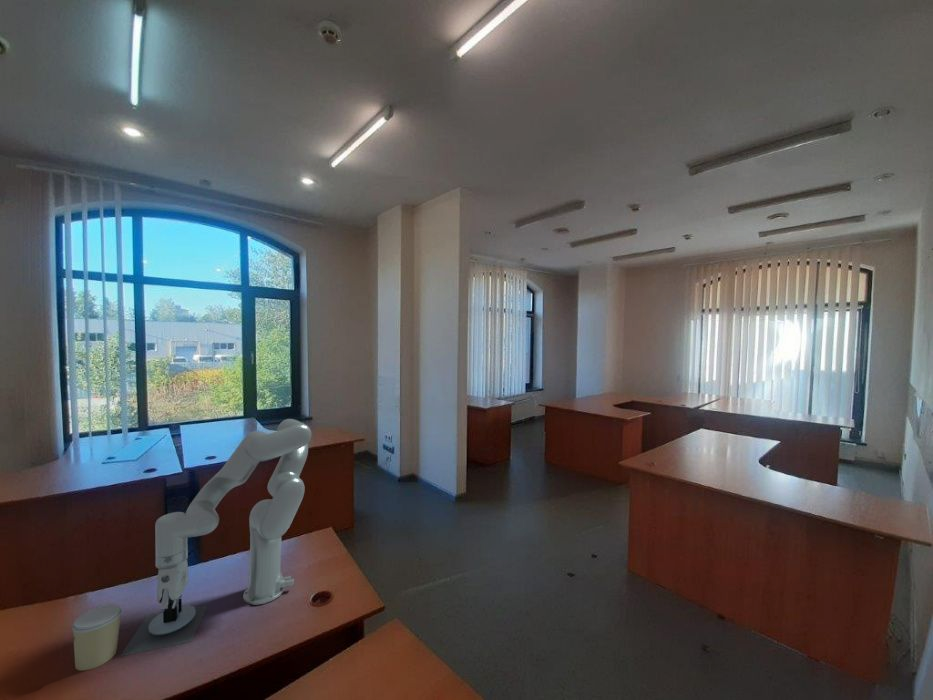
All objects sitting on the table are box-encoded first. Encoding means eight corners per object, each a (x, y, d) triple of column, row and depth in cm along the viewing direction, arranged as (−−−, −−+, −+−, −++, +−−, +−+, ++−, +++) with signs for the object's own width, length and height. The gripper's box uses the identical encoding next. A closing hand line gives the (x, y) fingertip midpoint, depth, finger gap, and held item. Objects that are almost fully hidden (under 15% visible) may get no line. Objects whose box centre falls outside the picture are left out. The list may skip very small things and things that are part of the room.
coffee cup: (93, 647, 103) (95, 603, 103) (129, 645, 104) (131, 602, 104) (59, 676, 94) (61, 628, 94) (99, 674, 95) (101, 627, 95)
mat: (208, 606, 120) (208, 605, 120) (190, 643, 105) (190, 641, 105) (147, 618, 115) (147, 616, 115) (119, 658, 100) (120, 656, 100)
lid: (200, 604, 118) (200, 580, 118) (188, 628, 107) (187, 603, 107) (158, 612, 114) (157, 588, 114) (141, 639, 103) (140, 612, 103)
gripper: (176, 569, 104) (177, 633, 104) (196, 540, 119) (196, 596, 119) (143, 575, 101) (144, 641, 102) (167, 544, 117) (168, 602, 117)
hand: (172, 616), depth 111 cm, fingers closed on lid, 2 cm apart
